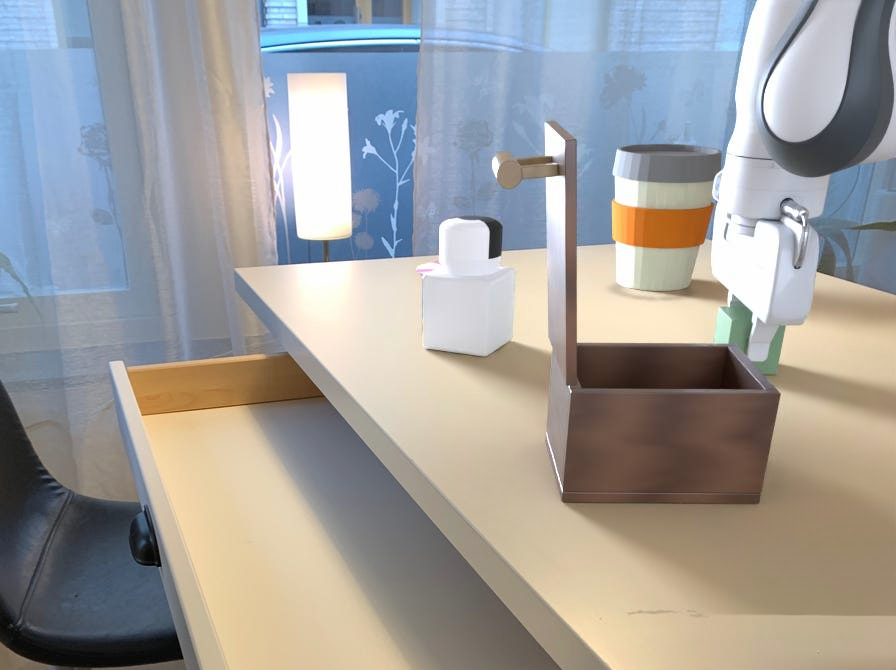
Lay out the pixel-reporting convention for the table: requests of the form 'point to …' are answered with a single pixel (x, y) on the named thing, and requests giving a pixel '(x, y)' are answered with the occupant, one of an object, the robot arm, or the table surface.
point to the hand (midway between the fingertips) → (745, 349)
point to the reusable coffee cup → (661, 212)
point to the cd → (428, 267)
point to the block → (746, 335)
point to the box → (661, 424)
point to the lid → (554, 234)
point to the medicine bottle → (468, 290)
